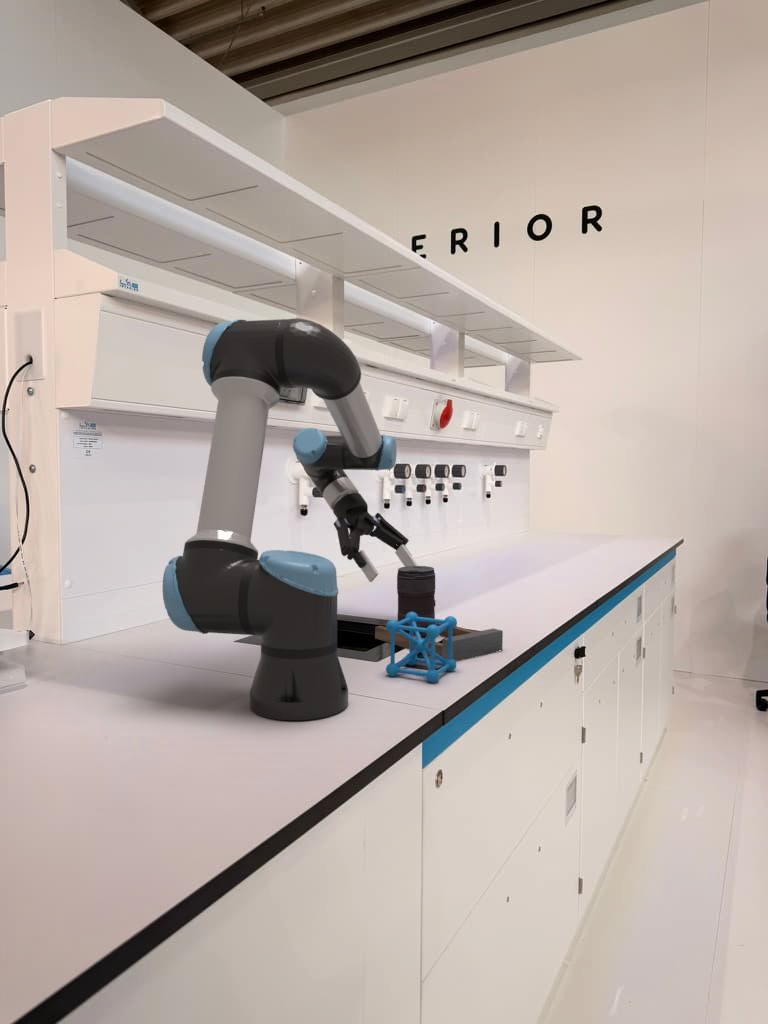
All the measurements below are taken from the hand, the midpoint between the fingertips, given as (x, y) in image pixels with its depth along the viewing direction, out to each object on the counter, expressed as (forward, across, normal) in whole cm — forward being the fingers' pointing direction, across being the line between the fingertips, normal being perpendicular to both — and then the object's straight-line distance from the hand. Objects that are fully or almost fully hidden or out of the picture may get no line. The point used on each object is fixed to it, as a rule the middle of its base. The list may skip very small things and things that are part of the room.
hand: (395, 574), depth 160 cm
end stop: (+26, +4, +8) cm, 27 cm away
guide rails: (+17, +2, -1) cm, 17 cm away
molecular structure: (+26, +20, +7) cm, 34 cm away
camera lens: (+14, +1, -4) cm, 15 cm away
